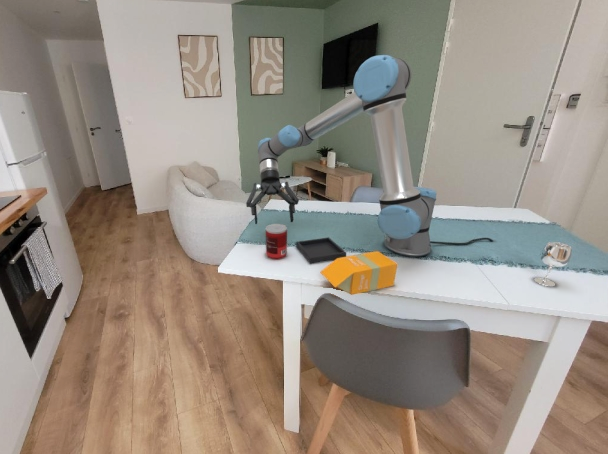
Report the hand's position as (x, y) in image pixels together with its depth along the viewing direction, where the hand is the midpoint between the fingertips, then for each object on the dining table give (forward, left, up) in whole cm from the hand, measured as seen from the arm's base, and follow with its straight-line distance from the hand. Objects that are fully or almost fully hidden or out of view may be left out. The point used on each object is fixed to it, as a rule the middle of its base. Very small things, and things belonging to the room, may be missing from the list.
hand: (274, 221), depth 109 cm
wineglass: (-69, +45, -11) cm, 83 cm away
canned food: (+1, +6, -11) cm, 13 cm away
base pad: (-15, +9, -11) cm, 21 cm away
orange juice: (-27, +30, -7) cm, 41 cm away
